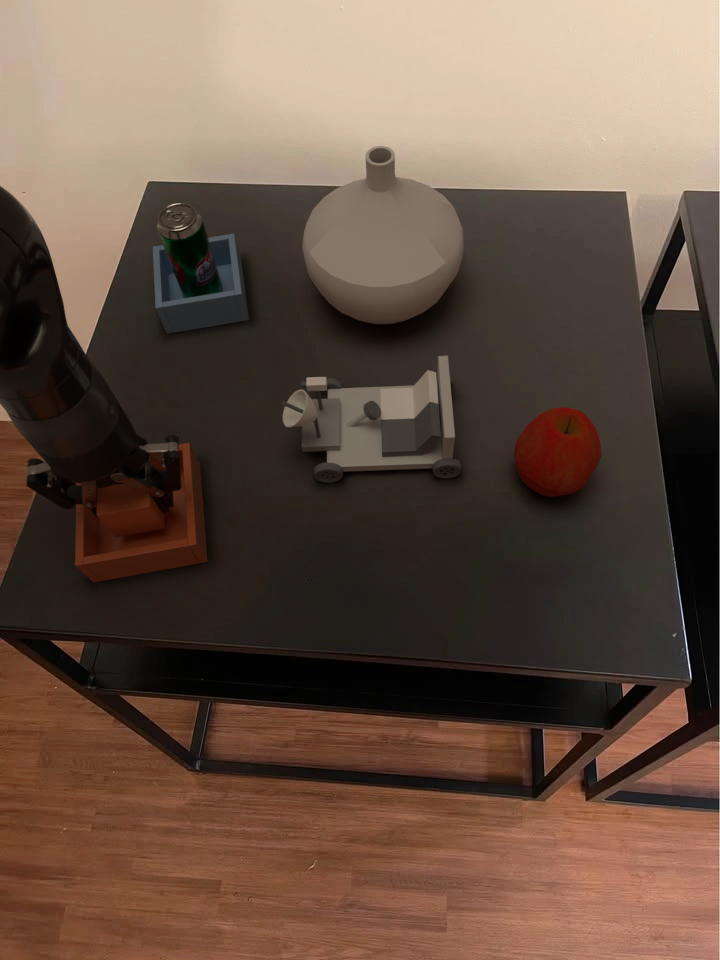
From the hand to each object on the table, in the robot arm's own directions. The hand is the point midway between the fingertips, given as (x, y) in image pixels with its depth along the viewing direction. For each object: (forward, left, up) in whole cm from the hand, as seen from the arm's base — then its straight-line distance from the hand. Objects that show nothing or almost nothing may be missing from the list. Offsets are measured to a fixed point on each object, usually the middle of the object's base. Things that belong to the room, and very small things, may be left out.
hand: (138, 509), depth 72 cm
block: (0, 0, 0) cm, 0 cm away
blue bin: (+8, +30, -3) cm, 31 cm away
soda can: (+8, +30, -3) cm, 31 cm away
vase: (+30, +26, -3) cm, 40 cm away
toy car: (+25, +6, -3) cm, 26 cm away
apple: (+42, -3, -3) cm, 42 cm away
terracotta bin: (0, 0, -3) cm, 3 cm away
